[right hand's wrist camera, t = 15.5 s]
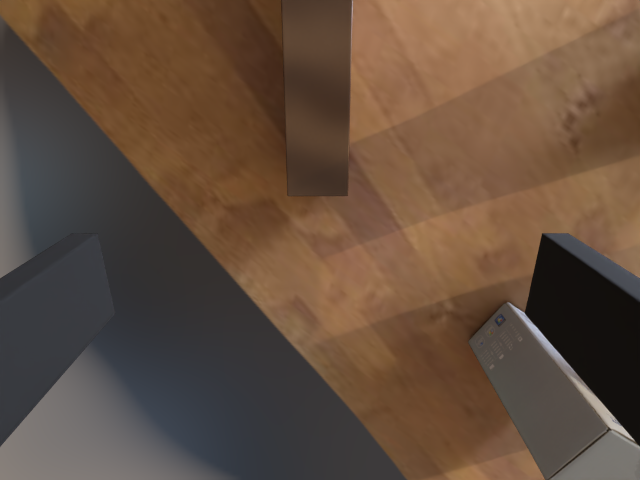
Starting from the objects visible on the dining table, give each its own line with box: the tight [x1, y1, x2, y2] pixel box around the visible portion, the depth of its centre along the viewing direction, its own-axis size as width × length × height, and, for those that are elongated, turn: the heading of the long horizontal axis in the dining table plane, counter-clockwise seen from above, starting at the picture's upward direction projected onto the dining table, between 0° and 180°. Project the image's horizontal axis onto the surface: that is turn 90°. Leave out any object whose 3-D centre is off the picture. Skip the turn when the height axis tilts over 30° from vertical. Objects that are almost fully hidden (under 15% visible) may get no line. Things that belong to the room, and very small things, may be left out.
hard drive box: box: [468, 302, 640, 480], centre depth 45 cm, size 16×8×20 cm, turn 56°
